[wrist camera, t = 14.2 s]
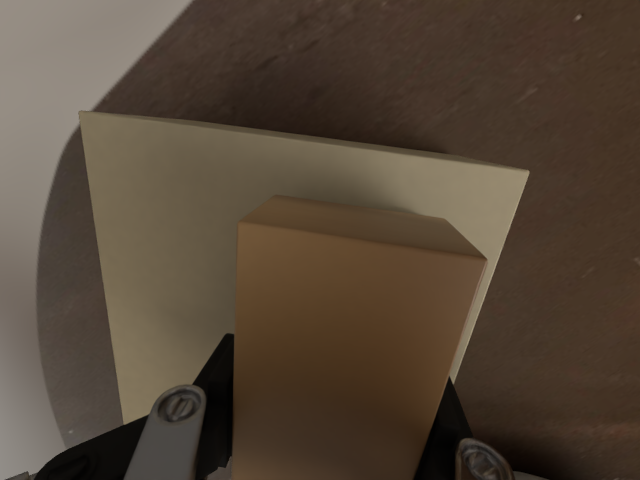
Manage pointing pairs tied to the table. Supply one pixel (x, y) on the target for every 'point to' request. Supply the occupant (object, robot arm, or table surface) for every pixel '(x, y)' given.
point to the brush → (343, 337)
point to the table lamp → (526, 476)
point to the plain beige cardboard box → (231, 206)
